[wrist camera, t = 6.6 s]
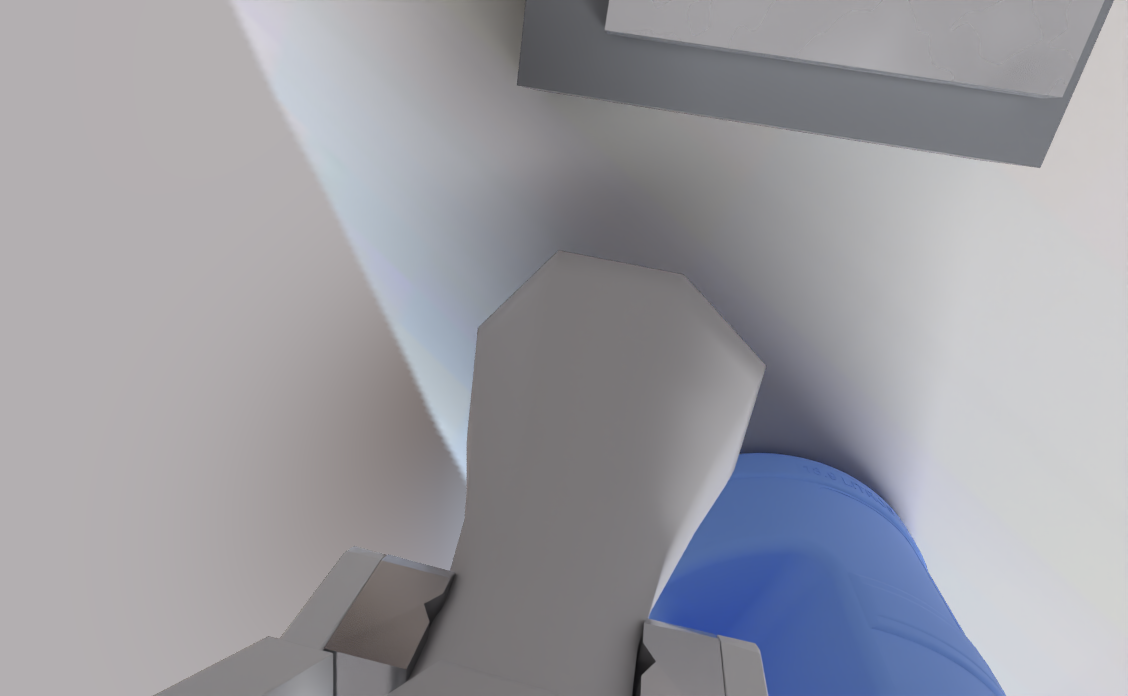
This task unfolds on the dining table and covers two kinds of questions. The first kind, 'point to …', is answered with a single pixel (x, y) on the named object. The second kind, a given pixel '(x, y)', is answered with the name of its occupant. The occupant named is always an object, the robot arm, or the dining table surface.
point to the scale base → (784, 89)
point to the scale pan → (884, 36)
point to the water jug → (821, 588)
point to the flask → (584, 476)
